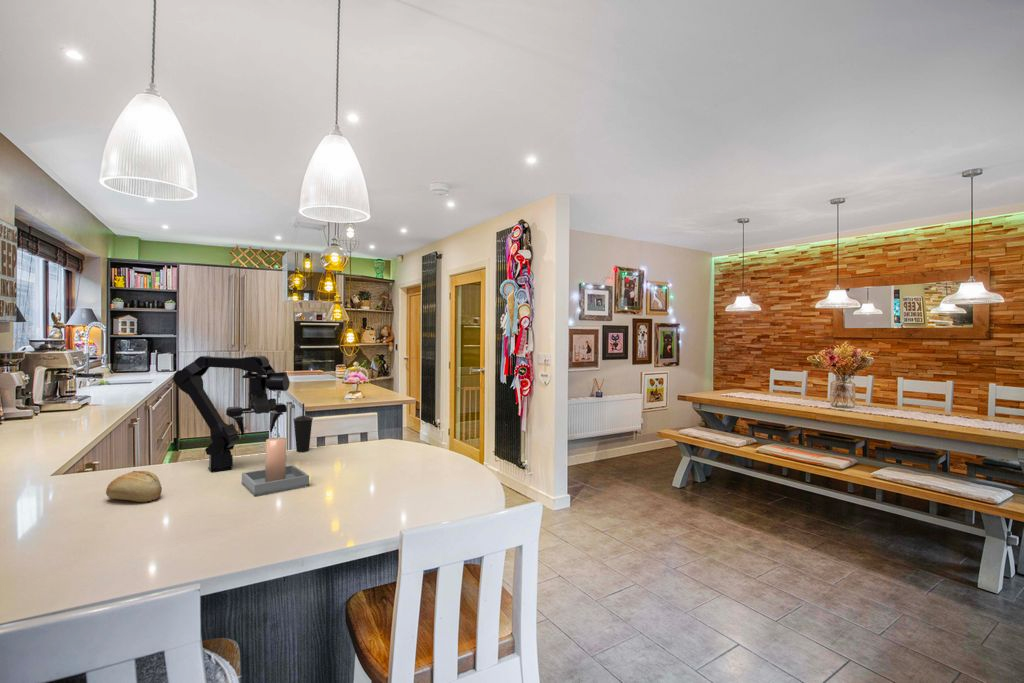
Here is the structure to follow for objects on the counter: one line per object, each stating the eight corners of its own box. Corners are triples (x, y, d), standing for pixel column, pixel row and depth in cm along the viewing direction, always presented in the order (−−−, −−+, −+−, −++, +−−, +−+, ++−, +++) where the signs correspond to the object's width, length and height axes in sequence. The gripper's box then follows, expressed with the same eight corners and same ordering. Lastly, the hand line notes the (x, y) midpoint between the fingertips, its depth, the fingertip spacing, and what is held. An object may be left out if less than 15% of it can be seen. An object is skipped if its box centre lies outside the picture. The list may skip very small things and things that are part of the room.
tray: (254, 496, 143) (254, 485, 143) (241, 483, 155) (241, 473, 155) (308, 486, 154) (309, 475, 154) (293, 474, 166) (293, 464, 166)
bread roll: (124, 493, 144) (125, 467, 144) (171, 495, 143) (172, 468, 143) (95, 504, 135) (95, 476, 134) (145, 506, 134) (145, 478, 134)
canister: (263, 485, 151) (264, 441, 151) (266, 480, 156) (267, 437, 156) (284, 484, 153) (285, 440, 153) (286, 479, 158) (287, 437, 158)
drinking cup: (288, 452, 197) (289, 404, 197) (301, 448, 204) (302, 401, 204) (303, 453, 195) (304, 405, 195) (316, 449, 202) (317, 402, 202)
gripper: (233, 394, 159) (232, 440, 159) (291, 391, 171) (291, 434, 172) (226, 391, 167) (225, 435, 167) (282, 388, 180) (281, 429, 180)
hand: (257, 433), depth 171 cm, fingers open, 9 cm apart
